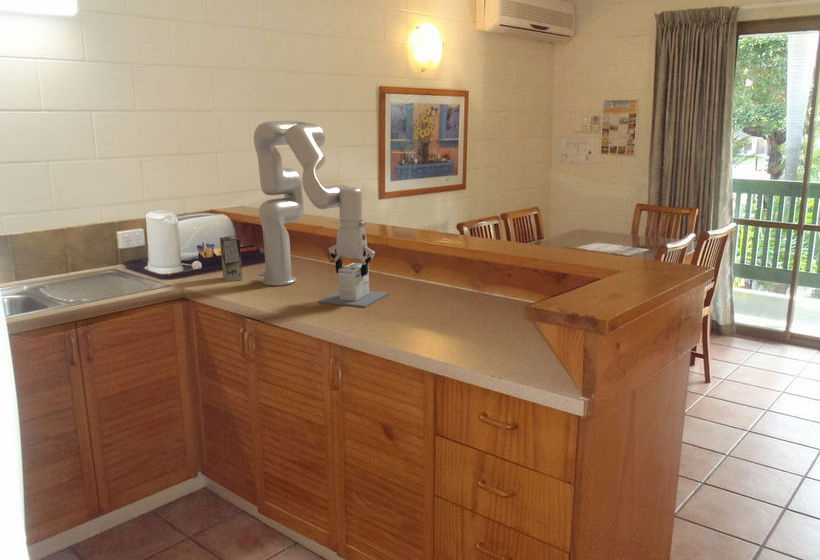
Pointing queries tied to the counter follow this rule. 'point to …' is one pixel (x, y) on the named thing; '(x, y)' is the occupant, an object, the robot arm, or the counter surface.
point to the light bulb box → (353, 282)
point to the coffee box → (231, 258)
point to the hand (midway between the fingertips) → (351, 273)
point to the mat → (361, 302)
